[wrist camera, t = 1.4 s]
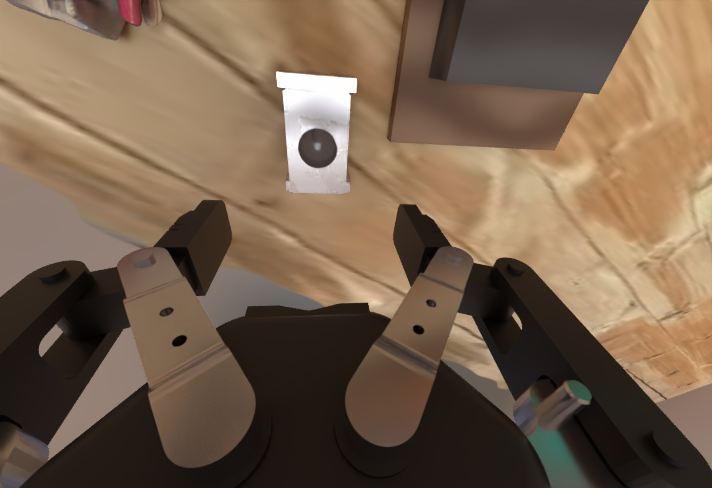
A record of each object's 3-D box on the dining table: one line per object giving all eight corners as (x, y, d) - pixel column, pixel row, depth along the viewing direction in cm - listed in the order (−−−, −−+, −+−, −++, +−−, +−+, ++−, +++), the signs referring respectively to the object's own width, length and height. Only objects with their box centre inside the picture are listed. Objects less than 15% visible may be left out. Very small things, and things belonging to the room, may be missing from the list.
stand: (438, -228, 15) (488, -349, 10) (694, -163, 17) (824, -239, 13) (387, 138, 26) (400, 154, 22) (544, 146, 29) (585, 162, 24)
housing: (280, 70, 22) (270, 74, 18) (353, 76, 23) (361, 81, 19) (288, 181, 28) (283, 203, 24) (347, 183, 29) (352, 204, 25)
